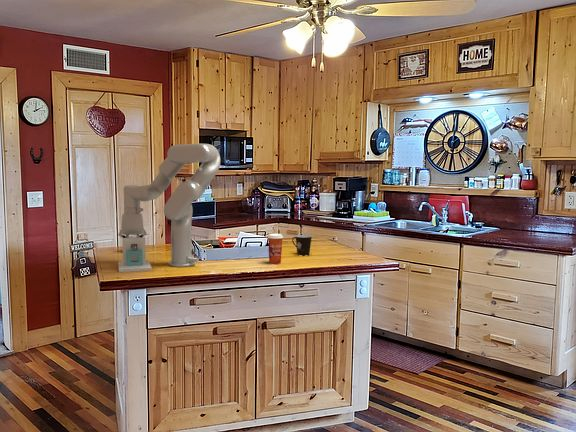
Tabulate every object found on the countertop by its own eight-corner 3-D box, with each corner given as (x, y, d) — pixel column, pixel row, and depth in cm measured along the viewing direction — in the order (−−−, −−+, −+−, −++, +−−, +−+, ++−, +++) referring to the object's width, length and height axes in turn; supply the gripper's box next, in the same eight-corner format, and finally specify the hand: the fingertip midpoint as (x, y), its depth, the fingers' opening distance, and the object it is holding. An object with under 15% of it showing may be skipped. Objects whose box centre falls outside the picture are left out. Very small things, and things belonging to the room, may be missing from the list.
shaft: (138, 253, 239) (138, 244, 238) (131, 254, 238) (130, 244, 237) (136, 246, 257) (135, 237, 256) (129, 246, 256) (129, 237, 255)
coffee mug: (314, 255, 278) (314, 237, 277) (298, 256, 275) (299, 237, 274) (305, 251, 289) (305, 233, 287) (290, 252, 285) (290, 234, 284)
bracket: (151, 270, 238) (151, 240, 236) (119, 272, 234) (118, 242, 232) (148, 262, 255) (148, 234, 253) (118, 264, 250) (117, 236, 249)
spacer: (142, 265, 243) (142, 250, 242) (126, 266, 241) (126, 251, 240) (142, 264, 245) (142, 249, 244) (126, 265, 243) (126, 250, 242)
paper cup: (269, 264, 254) (269, 236, 252) (265, 261, 261) (265, 233, 260) (284, 264, 256) (285, 235, 254) (280, 260, 263) (281, 233, 262)
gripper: (149, 209, 259) (149, 246, 261) (114, 210, 253) (114, 248, 256) (150, 211, 252) (151, 249, 254) (114, 212, 246) (115, 250, 249)
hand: (132, 248), depth 255 cm, fingers closed on shaft, 3 cm apart
